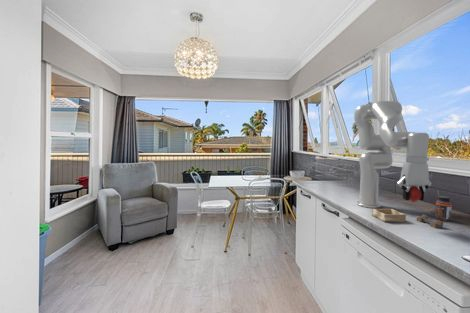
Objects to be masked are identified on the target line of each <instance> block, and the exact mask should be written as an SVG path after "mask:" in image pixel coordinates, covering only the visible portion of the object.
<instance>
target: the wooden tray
mask: <svg viewBox="0 0 470 313" xmlns="http://www.w3.org/2000/svg"><path fill="white" fill-rule="evenodd" d="M406 215H407V214H406V213H404V212H403V213H402V212H400V211H398V210H395V209H393V208H371V216H372V217H374V218H376V219H378V220H379V221H381V222H384V223H406V222H407V219H406V218H407V216H406Z"/></svg>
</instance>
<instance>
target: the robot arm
mask: <svg viewBox="0 0 470 313" xmlns="http://www.w3.org/2000/svg"><path fill="white" fill-rule="evenodd" d="M402 111H403V106H402V104H401V103H400V102H399V101H396V100H379V101H376V102H375V103H373V104H361V105H358V106H357V107H356V108H355V111H354V114H353V117H354V123H355V125H356V128H357V132H358V139H359V140H358V141H359V146H360V148H361V150H363V151H368V152H363V153H361V155H360V156H359V157H358V162H359V169H360V178H359V179H360V180H359V181H360V183H359V184H360V185H359V196H358V197H357V198H358V199H359V200H358V201H356V205H357V206H360V207H364V208H371V209H380V208H381V207H382V205H381V203H379V202H378V201H379V183H380V178H379V173H378V172H377V170H376V169H389V168H390V167H391V166H392V164H393V154H392V149H397V148H398V149H406V157H405V162H403V165H402V167H401V171H400V178H399V180H398V181H397V183H396V185H398V187H399V188H400V189H401V191H403V192H402V199H403V200H405V201H410V200H409V199H410V192H408V191H409V189H410V187H412V186H416V187H417V188H418V189H420V191H421V193H422V196H421V198H420V199H419V200H418V201H424V200H425V199H424V198H425V193H426V192H427V189H428V188H429V187H431V186H432V185H433V183H432V182H431V180H430V179H429V178H430V174H429V164H428V161H429V160H430V158H429V157H428V155H429V142H430V136H429V133H427V132H415V131H393V130H392V128H395V127H396V126H397V125H398V124H399V123H400V121H401V118H400V115H401V113H402ZM369 120H377V121H378V122H379V124H381V125H380V127H379V134H376V133H375V128H374V125H373V124H372V123H371V121H369ZM376 151H377V152H376Z"/></svg>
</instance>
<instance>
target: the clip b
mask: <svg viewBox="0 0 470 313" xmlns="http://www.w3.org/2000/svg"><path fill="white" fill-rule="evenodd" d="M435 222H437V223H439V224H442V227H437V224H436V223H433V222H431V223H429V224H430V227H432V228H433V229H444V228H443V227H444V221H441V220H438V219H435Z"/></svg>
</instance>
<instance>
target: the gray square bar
mask: <svg viewBox="0 0 470 313" xmlns="http://www.w3.org/2000/svg"><path fill="white" fill-rule="evenodd" d="M417 217H421V218H422V220H423V221H425V222H424V223H427V224H430V223H431V222H433V223H436V224H437V227H442V224H439V223H437V222H436V221H434V220H432V219H429V218H428V219H426V218H424V217H422V215H417Z"/></svg>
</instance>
